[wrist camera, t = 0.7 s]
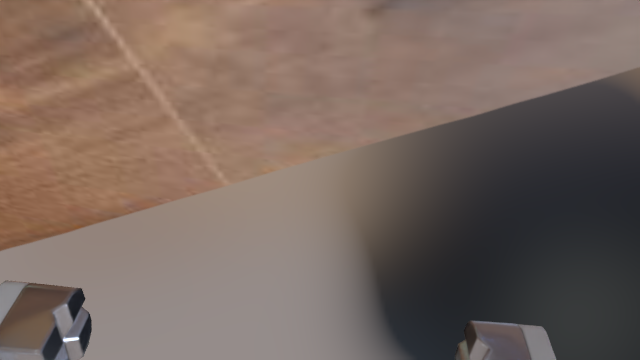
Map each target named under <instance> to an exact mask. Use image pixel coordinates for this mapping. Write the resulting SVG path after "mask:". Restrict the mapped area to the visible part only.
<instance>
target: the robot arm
mask: <svg viewBox="0 0 640 360" xmlns="http://www.w3.org/2000/svg"><path fill="white" fill-rule="evenodd" d="M84 301H85V297H84V294H83V291H82V289H81V288H72V287H63V286H54V285H45V284H36V283H26V282H16V281H4V282H3V283H2V284H0V360H79V359H81V358H82V357H83V356H84V354H85V351H86V349H87V347H88V344H89V339H90V335H91V317H90V314H89V312H88V311H87V310H85V309H84V308H83V307H82V305H83V302H84ZM464 334H465V339H466V340H464V341H463V342H461V343H459V345H458V347H457V350H456V353H455V360H556V358H555V355H554V352H553V349H552V347H551V344H550V341H549V338H548V336H547V333H546V331H545V330H544V329H543V327H540V326H530V325H516V324H511V323H498V322H484V321H469V322H468V323H467V325H466V327H465V330H464Z"/></svg>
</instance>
